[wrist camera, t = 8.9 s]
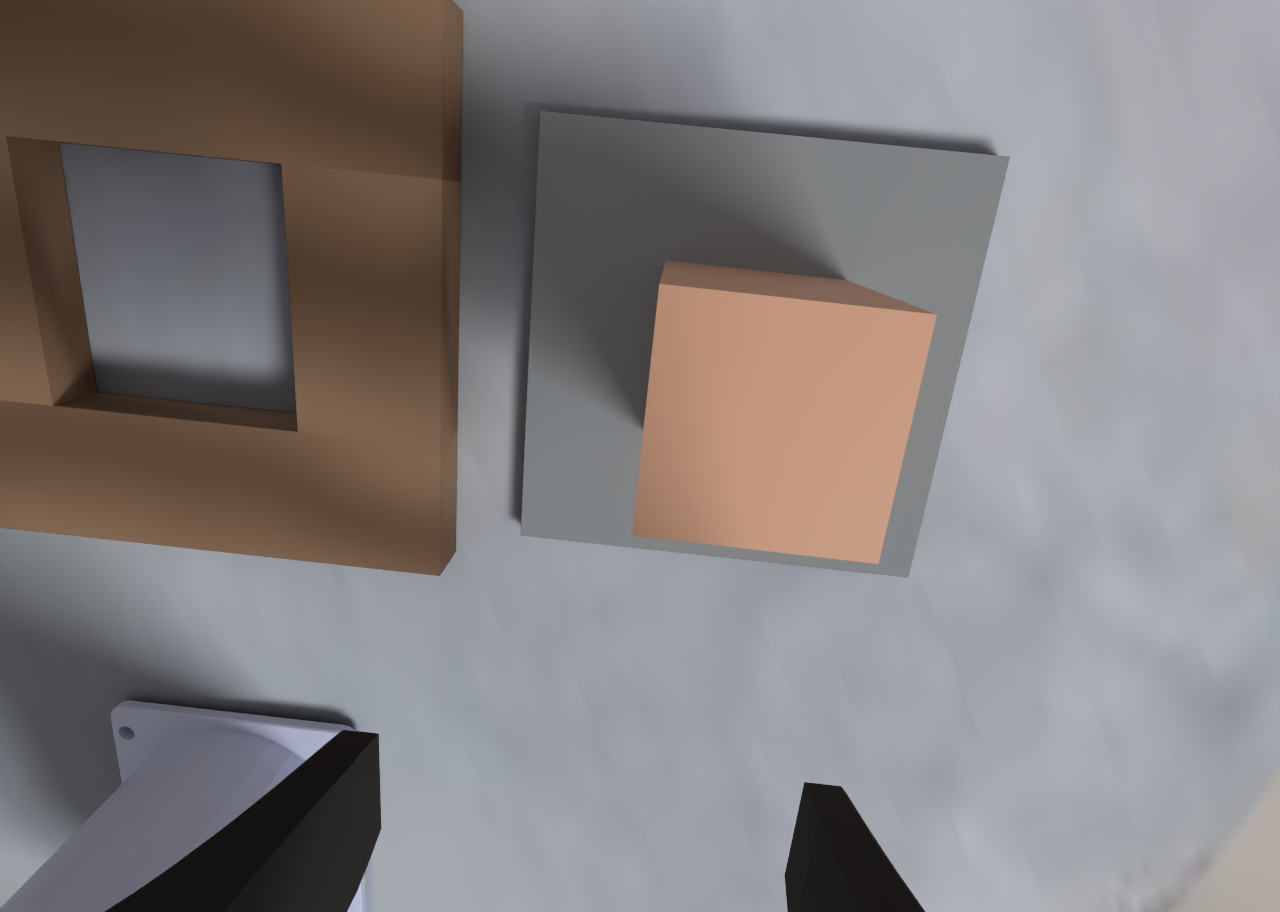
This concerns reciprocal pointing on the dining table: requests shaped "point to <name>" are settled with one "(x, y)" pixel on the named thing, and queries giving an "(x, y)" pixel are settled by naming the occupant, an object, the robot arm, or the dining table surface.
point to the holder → (317, 273)
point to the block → (777, 411)
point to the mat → (738, 238)
